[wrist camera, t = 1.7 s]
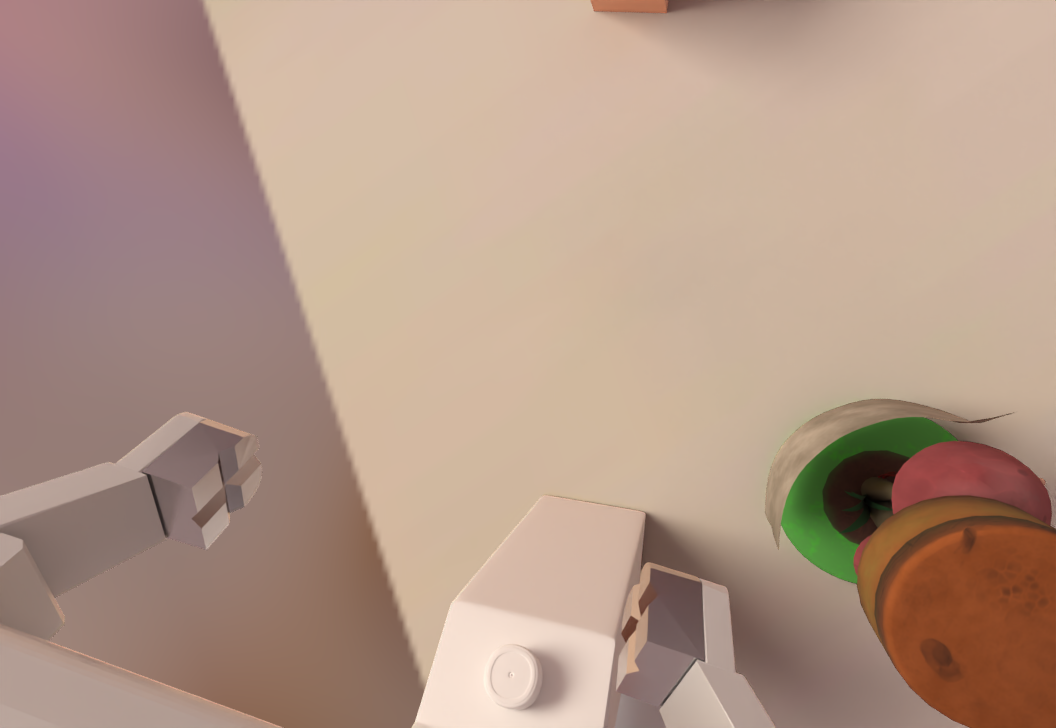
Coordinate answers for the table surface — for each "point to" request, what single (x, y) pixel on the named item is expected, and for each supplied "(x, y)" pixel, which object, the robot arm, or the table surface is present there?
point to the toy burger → (931, 553)
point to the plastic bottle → (637, 714)
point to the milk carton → (540, 624)
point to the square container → (631, 5)
